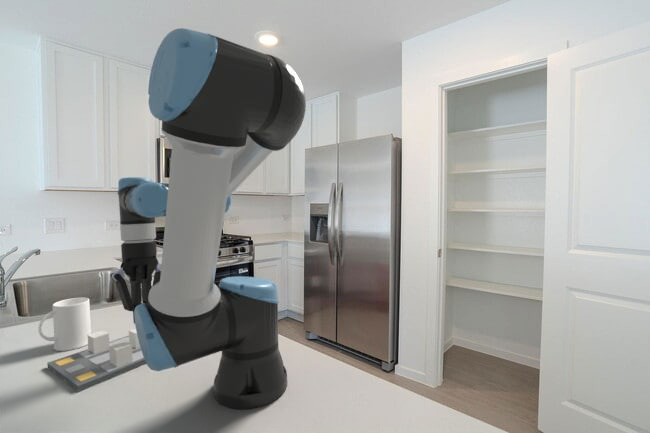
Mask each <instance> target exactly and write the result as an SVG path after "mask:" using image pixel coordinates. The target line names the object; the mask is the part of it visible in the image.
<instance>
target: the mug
mask: <svg viewBox="0 0 650 433" xmlns="http://www.w3.org/2000/svg"><path fill="white" fill-rule="evenodd" d="M90 305H91V304H90V298H88V297H73V298H67V299H62V300H59V301H56V302H54V303H53V304H52V310H51V311H49V312H48V313H47V314H45V315H44V316H43V317H42V319H41V320H40V322H39V325H38V333H39V335H40V337H41V338H42V339H44V340H45V341H48V342H54V344H53V350H54V351H57V352H67V351H73V350H78V349H80V348H83V347H86V346H88V336H87V335H89V334H92V327H91V326H92V325H91V324H92V323H91V310H90V309H91V308H90V307H91V306H90ZM51 316H52V318H53V322H52V323H53V336H51V337H49V336H47V335H44V333H43V332H42V331H43V330H42V327H43V325H44V323H45V321H46V320H47V319H48V318H50V317H51Z"/></svg>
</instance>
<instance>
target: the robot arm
mask: <svg viewBox="0 0 650 433" xmlns="http://www.w3.org/2000/svg"><path fill="white" fill-rule="evenodd" d="M147 88H148V89H147V90H148V91H147V92H148V93H147V94H148V96H149V97H148V107H149V110H150V114H151V115H152V116H153V117H154V118H155V119H157V120H159V121H161V133H162V134H163V135H164V136H165V137H166V139H167V140H168V141H169V142H170V143H171V156H170V165H169V177H168V178H169V180H168V183H160V182H158V181H157V182H156V181H153V180H152V179H151V178H149V177H138V176H137V177H135V176H133V177H121V178H120V179H119V180H118V184H117V185H118V190H117V195H118V207H119V208H118V210H119V224H120V225H119V227H120V240H121V241H122V243H121V244H120V247H121V250H120V251H121V260H122V261H121V264H120V268H119V269H118V270H117V271H115V272H112V273H110V275H109V277H110V278H111V279H112V281H113V282H114V283H115V285H116V289H117V291H118V294H119V297H120V301H121V304H122V306H123V310H125V311H128V312H132V316H133V317H132V318H133V324H134V325H135V328H136V331H137V336H138V340H139V344H140V347H141V351H142V354H143V357H144V359H145V362H146V364H145V365H147V367H148V368H149V369H150V370H152V371H154V372H161V371H164V370H168V369H172V368H176V369H177V368H178V367H179V366H182V365H185V364H188V363H191V362H194V361H196V360H200V359H202V358H204V357H205V358H206V357H208V356H211V355H214V354H216V353H219V352H221V355H220V356H221V357H220V359H219V365H218V368H217V371H216V372H217V373H216V374H215V377H214V379H213V396H214V399H215V400H216V401H217V403H219V404H220V405H222V406H224V407H227V408H231V409H237V410H238V409H239V410H247V409H254V408H259V407H262V406H265V405H268V404H270V403H272V402H274V401H276V400H278V399H279V398H280V397H281V396H282V395H283V394H284V393H285V391H286V390H287V387H288V373H287V372H288V371H287V369H286V367H285V365H284V361H283V358H282V354H281V351H280V349H279V319H278V318H279V309H278V308H279V307H278V306H279V302H280V301H279V298H278V288H277V285H276V284H275V283H274V282H273V281H272V280H269V279H267V278H262V277H256V276H255V277H253V276H228V277H227V276H226V277H224V278H221V279H220V280H219V284H218V285H216V283H215V277H216V271H217V266H218V258H219V251H220V246H221V239H222V233H223V232H222V231H223V226H224V219H225V214H226V213H227V212H228V211H229V210H230V206H231V205H232V204H231V203H232V194H233V193H234V192H235V191H236V190H237V188H238V187H239V186H241V184H243V183H244V182H245V180H246V179H247V178H249V176H250V175H251V174H253V172H254V171H255V170H256V169H257V168H258V167H259V166H260V165H261V164H263V162H264V161H265V160H266V159H267V158H268V157H269V156H270V155H271V154H272V153H273V152H279V151H281V150H283V149H285V147H286V146H288V144H289V143H291V141H292V140H293V139H294V138H295V137H296V136H297V134H298V132H299V131H300V129H301V127H302V124H303V122H304V118H305V114H306V108H307V106H306V104H307V103H306V95H305V94H306V93H305V91H304V86H303V84H302V81H301V80H300V77H299V76H298V73H296V71H295V70H294V69H293V68H292V67H291V66H290V65H289V64H288V63H286V62H285V61H284V60H283V59H281V58H279V57H277V56H274V55H272V54H270V53H269V54H267V53H263V52H260V51H257V50H255V49H252V48H250V47H247V46H243V45H241V44H238V43H235V42H232V41H230V40H227V39H224V38H222V37H218V36H217V35H213V34H210V33H204V32H200V31H197V30H192V29H188V28H176V29H173V30H171V31H169V32H168V33H167V34H166V35H165V36H164V38H163V39H162V41H161V43H160V45H159V46H158V48H157V50H156V53H155V55H154V58H153V61H152V65H151V69H150V74H149V80H148V87H147ZM160 217H161V218H163V217H164V218H165V221H164V222H165V223H164V232H163V234H164V235H163V241H162V242H163V244H162V254H161V263H159V260H158V258H157V253H158V252H157V242H156V240H155V239H156V238H157V230H156V229H157V228H156V218H160ZM153 274H154V275H153ZM125 275H126V276H127V277H128V278H129V283H130V291H129V288H128V284H127V281H126V280H125V278H126V276H125Z"/></svg>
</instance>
